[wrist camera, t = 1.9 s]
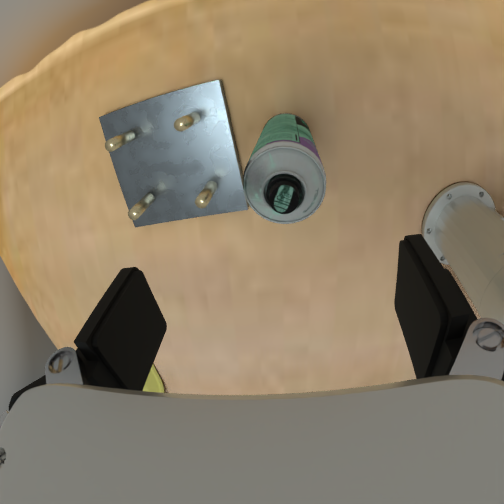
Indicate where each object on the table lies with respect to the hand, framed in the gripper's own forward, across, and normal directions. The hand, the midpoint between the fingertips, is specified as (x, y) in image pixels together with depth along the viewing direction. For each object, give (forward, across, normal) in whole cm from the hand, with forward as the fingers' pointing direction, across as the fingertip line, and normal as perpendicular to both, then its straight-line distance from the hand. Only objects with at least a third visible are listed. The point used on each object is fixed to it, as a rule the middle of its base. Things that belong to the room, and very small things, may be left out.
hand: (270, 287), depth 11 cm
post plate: (+28, +14, 0) cm, 31 cm away
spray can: (+28, 0, 0) cm, 28 cm away
